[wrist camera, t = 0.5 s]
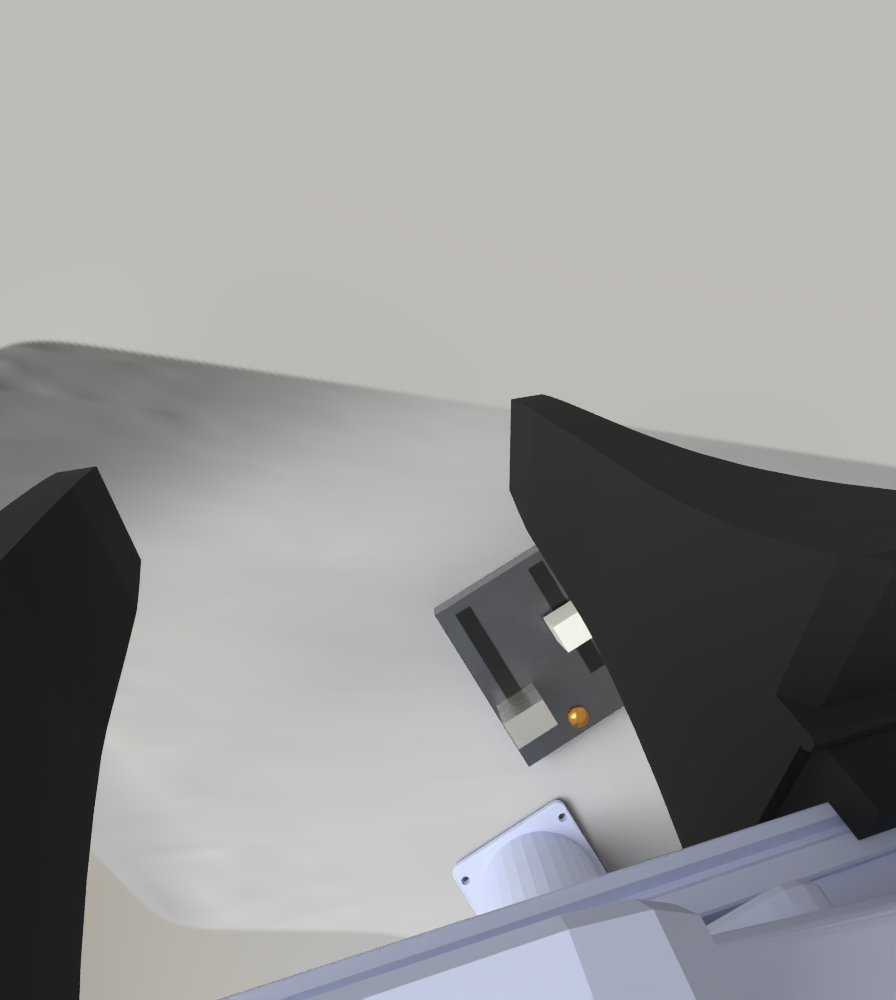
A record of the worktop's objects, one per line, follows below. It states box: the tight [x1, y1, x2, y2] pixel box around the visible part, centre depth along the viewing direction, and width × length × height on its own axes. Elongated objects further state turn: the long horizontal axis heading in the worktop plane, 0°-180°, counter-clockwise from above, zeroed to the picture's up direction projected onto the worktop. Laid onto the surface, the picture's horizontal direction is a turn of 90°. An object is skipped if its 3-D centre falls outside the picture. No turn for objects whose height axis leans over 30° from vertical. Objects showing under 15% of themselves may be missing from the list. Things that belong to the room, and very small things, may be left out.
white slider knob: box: [543, 601, 592, 653], centre depth 33 cm, size 2×2×2 cm, turn 122°
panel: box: [434, 545, 624, 766], centre depth 34 cm, size 10×13×5 cm
